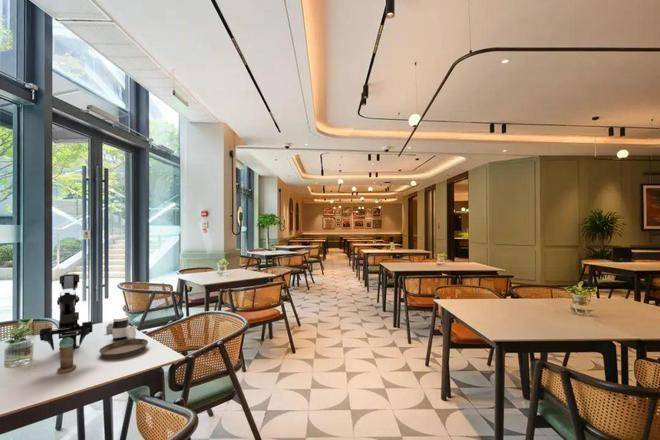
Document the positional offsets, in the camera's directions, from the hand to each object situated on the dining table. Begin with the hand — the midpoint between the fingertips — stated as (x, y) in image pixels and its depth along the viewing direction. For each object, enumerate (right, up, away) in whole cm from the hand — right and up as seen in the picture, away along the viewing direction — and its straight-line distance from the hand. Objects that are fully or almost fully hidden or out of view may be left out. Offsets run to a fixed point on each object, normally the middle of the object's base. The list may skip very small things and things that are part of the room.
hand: (66, 347), depth 148 cm
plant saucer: (+14, -10, +19) cm, 25 cm away
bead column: (+1, -9, -1) cm, 9 cm away
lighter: (-13, -11, +52) cm, 55 cm away
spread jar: (+1, -10, +40) cm, 41 cm away
